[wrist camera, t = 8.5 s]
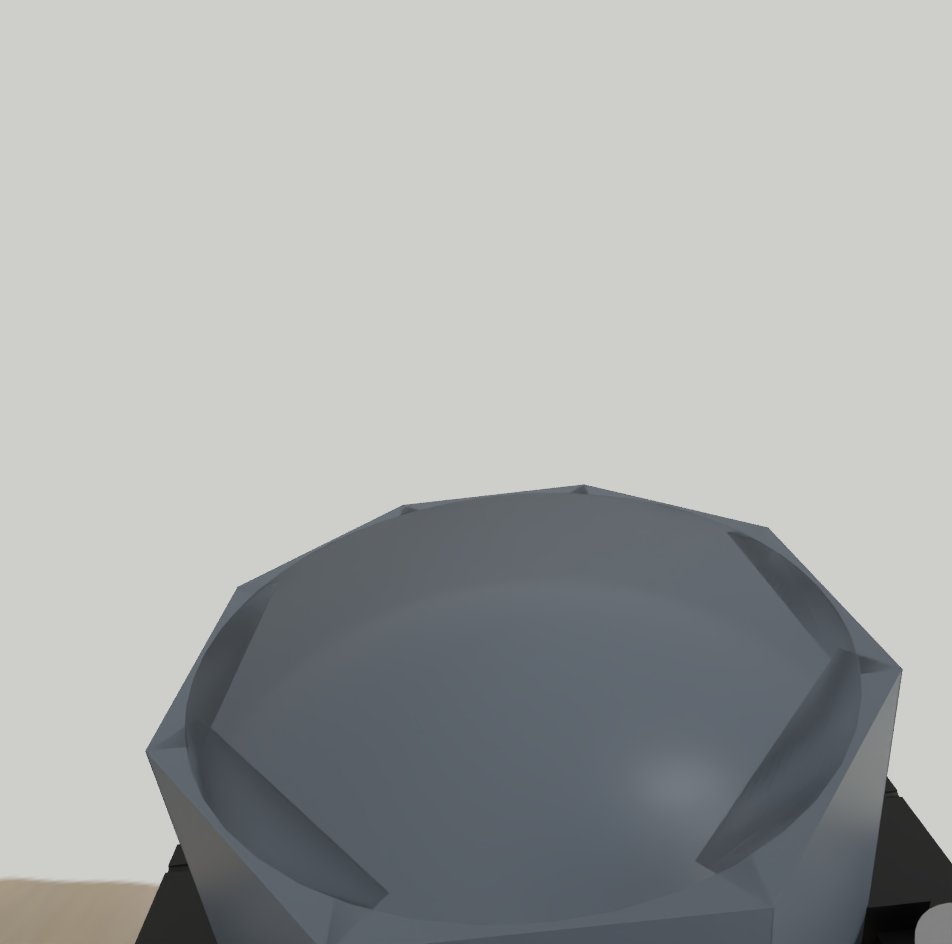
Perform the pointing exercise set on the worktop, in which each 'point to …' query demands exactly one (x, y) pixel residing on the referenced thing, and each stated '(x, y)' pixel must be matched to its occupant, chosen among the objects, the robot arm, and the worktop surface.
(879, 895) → the robot arm
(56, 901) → the worktop surface
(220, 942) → the grey octagonal prism
